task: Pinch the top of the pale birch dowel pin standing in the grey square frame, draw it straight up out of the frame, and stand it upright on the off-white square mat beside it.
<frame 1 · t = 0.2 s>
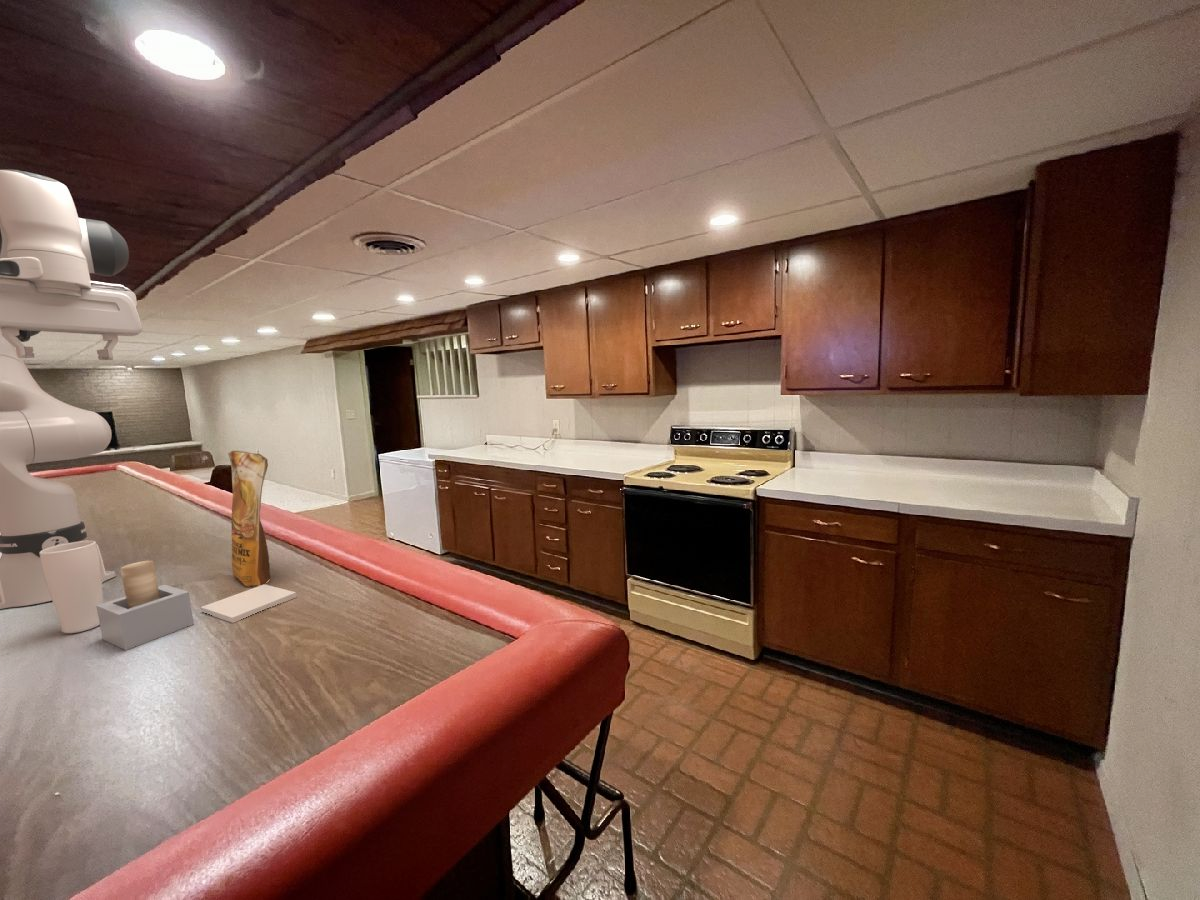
hand: (68, 359, 81), 47 cm above the table, tool pointing down, fingers open, 8 cm apart
birch pin: (143, 598, 80), in the grey square frame
grey square frame: (149, 631, 81), on the table
drinking glass: (84, 628, 84), on the table
pancake mix bag: (256, 577, 105), on the table
square mat: (250, 604, 90), on the table
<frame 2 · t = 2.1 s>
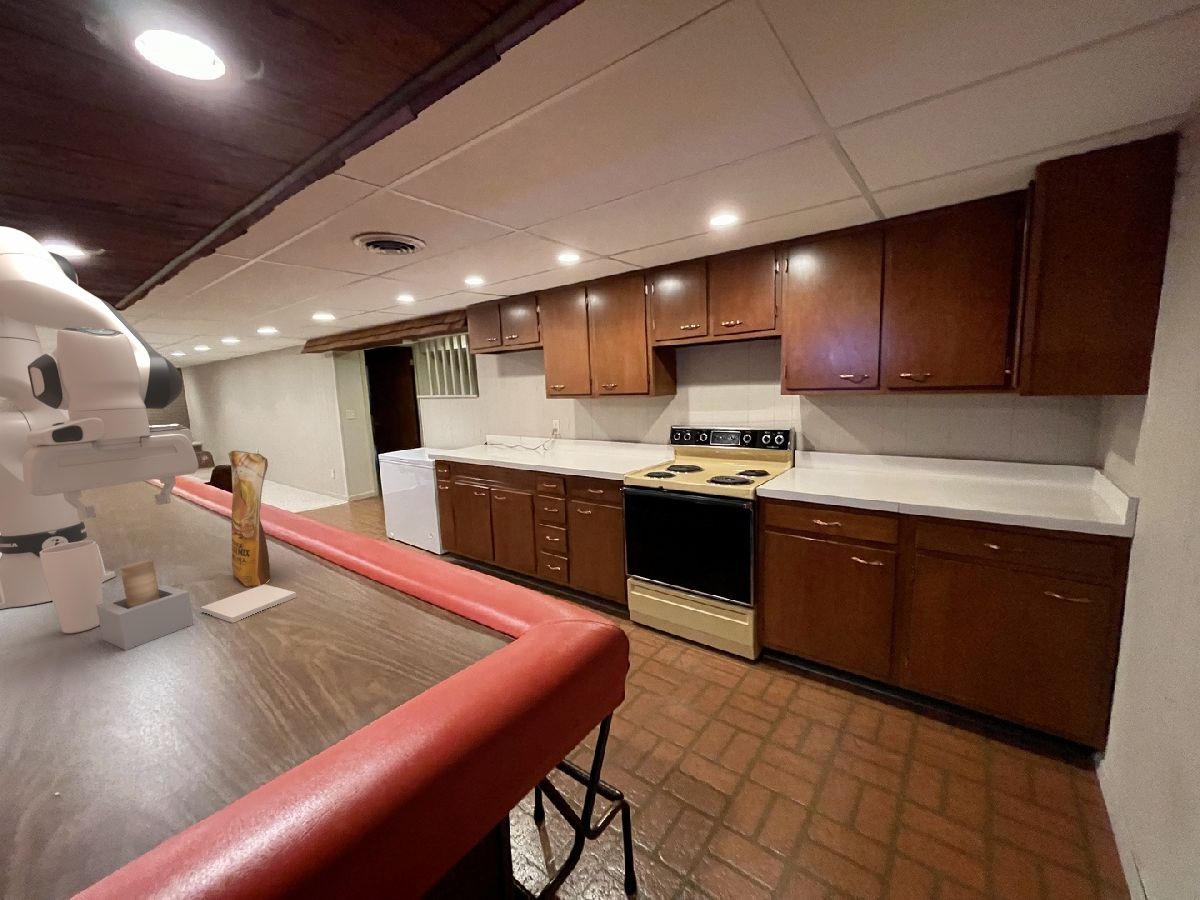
hand: (127, 510, 78), 21 cm above the table, tool pointing down, fingers open, 8 cm apart
nothing on the table moved.
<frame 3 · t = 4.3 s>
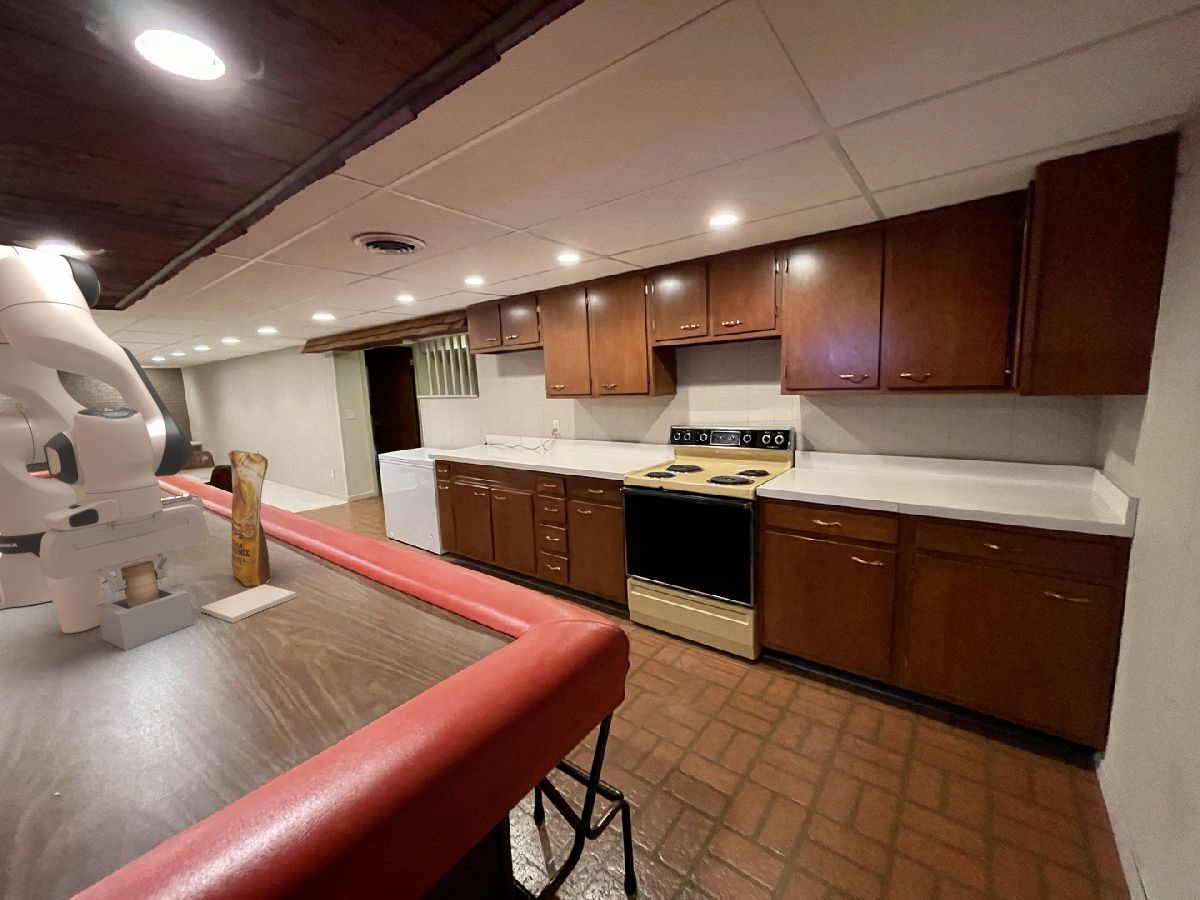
hand: (140, 584, 80), 9 cm above the table, tool pointing down, fingers closed on birch pin, 4 cm apart
birch pin: (143, 598, 80), in the grey square frame, touching gripper
everything else where it was.
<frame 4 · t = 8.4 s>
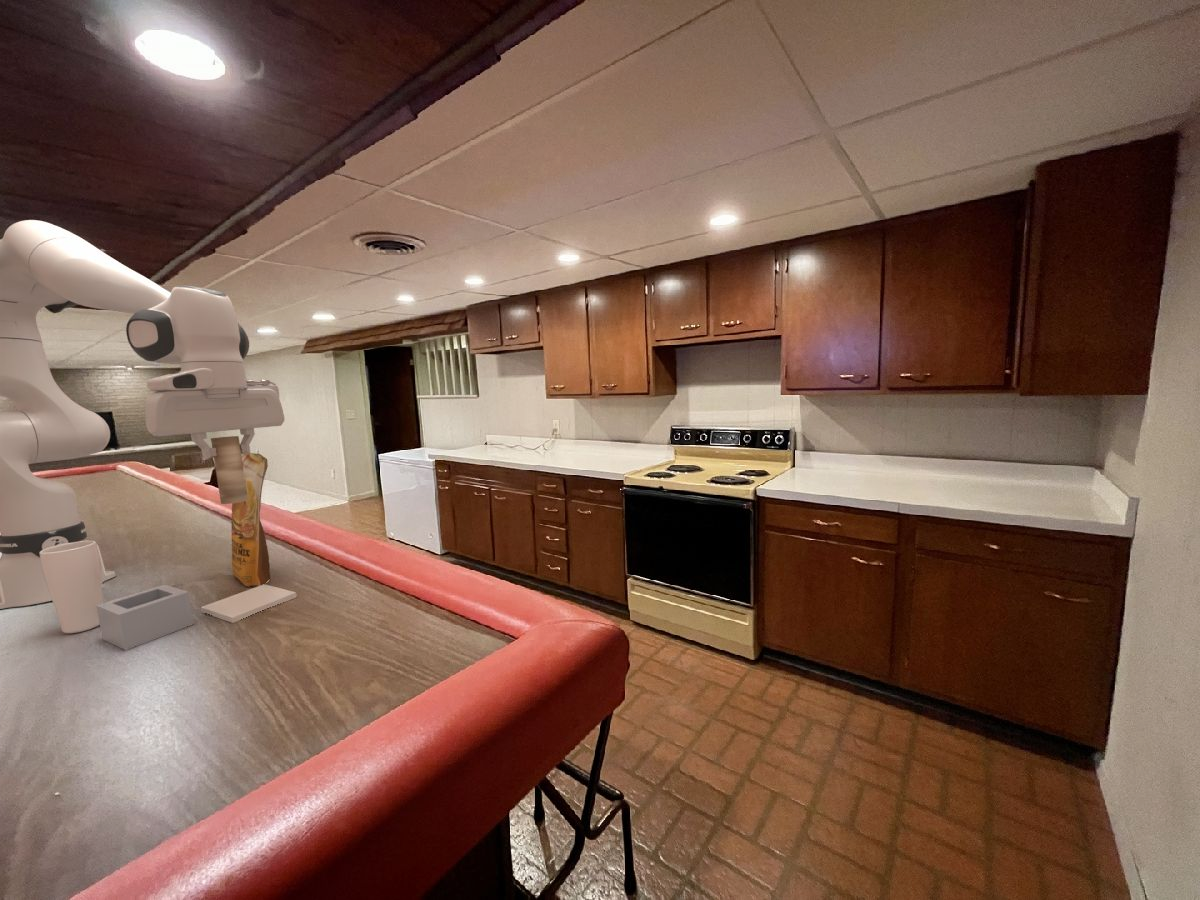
hand: (227, 455, 86), 29 cm above the table, tool pointing down, fingers closed on birch pin, 4 cm apart
birch pin: (229, 469, 87), point 26 cm above the table, touching gripper
everything else where it was.
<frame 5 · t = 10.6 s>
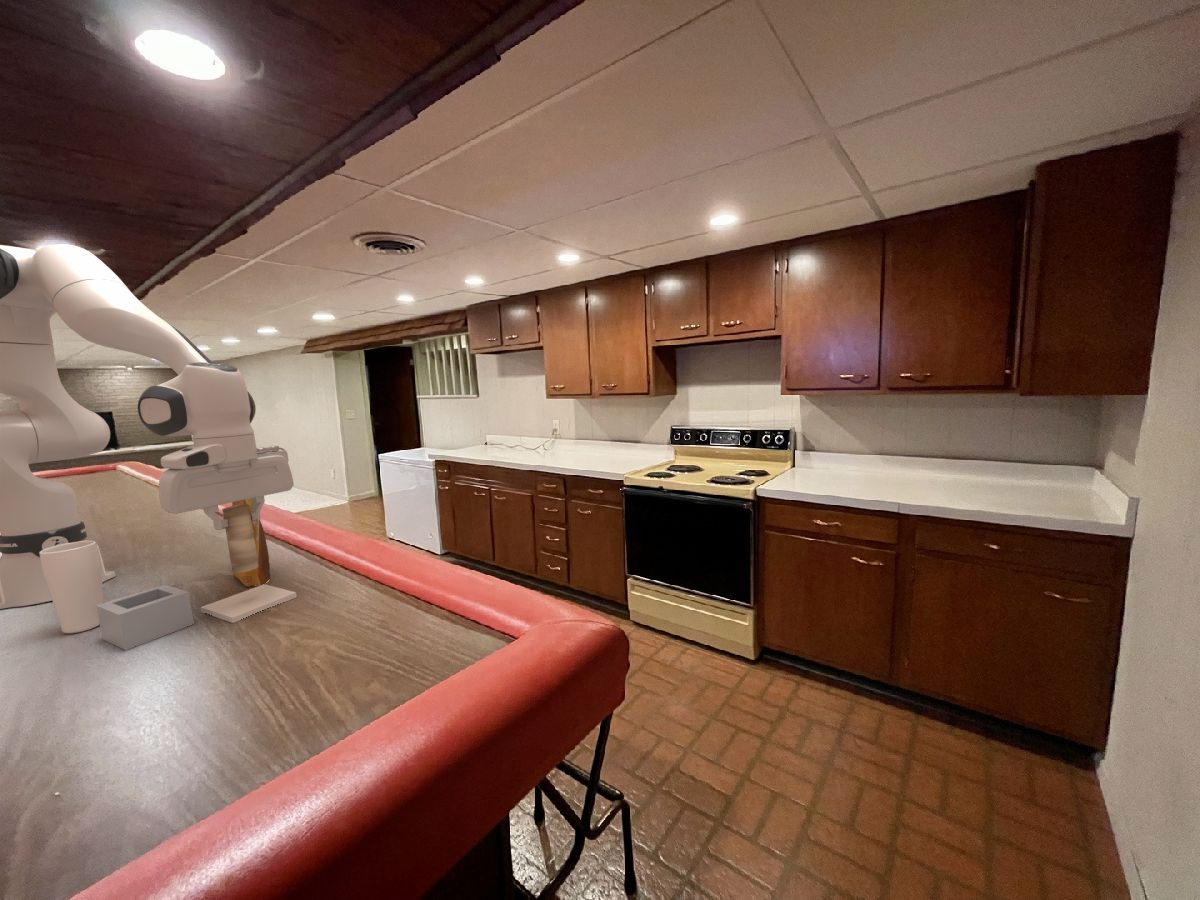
hand: (238, 524, 88), 16 cm above the table, tool pointing down, fingers closed on birch pin, 4 cm apart
birch pin: (240, 538, 88), point 13 cm above the table, touching gripper
everything else where it was.
when the fingers open (11 cm above the table, at t = 12.4 s): birch pin drops 1 cm, resting on square mat.
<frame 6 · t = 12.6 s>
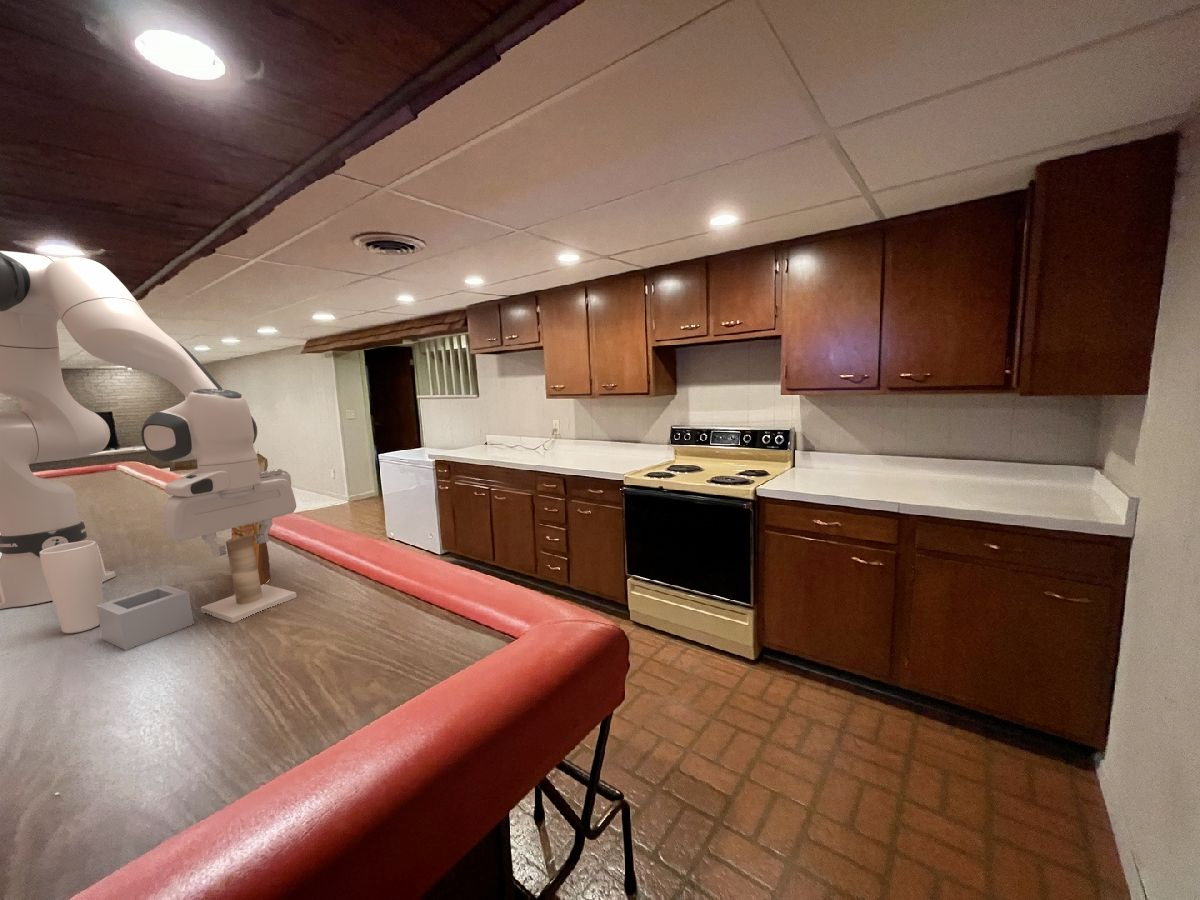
hand: (241, 548, 89), 11 cm above the table, tool pointing down, fingers open, 6 cm apart
birch pin: (244, 569, 89), on the square mat, point 7 cm above the table
everything else where it was.
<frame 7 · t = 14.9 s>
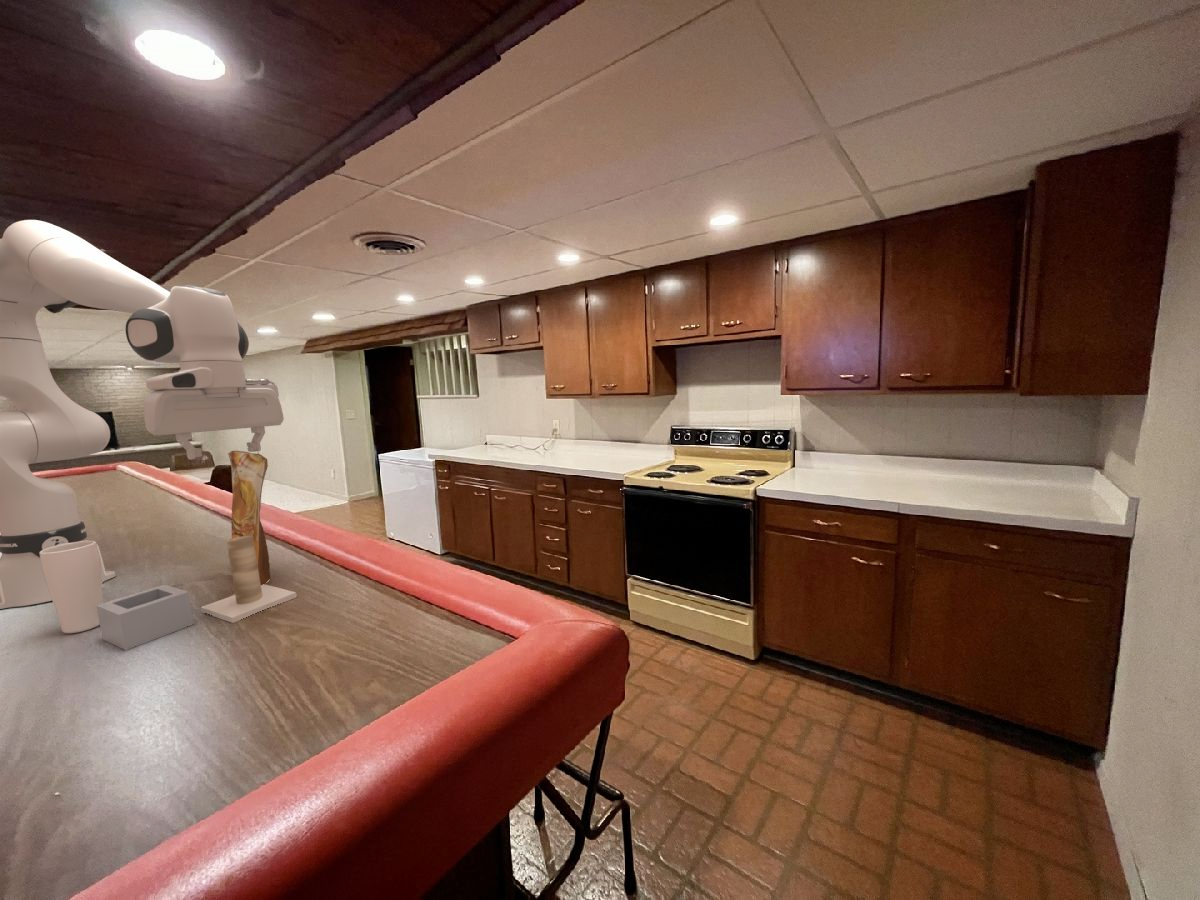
hand: (226, 454, 86), 29 cm above the table, tool pointing down, fingers open, 8 cm apart
nothing on the table moved.
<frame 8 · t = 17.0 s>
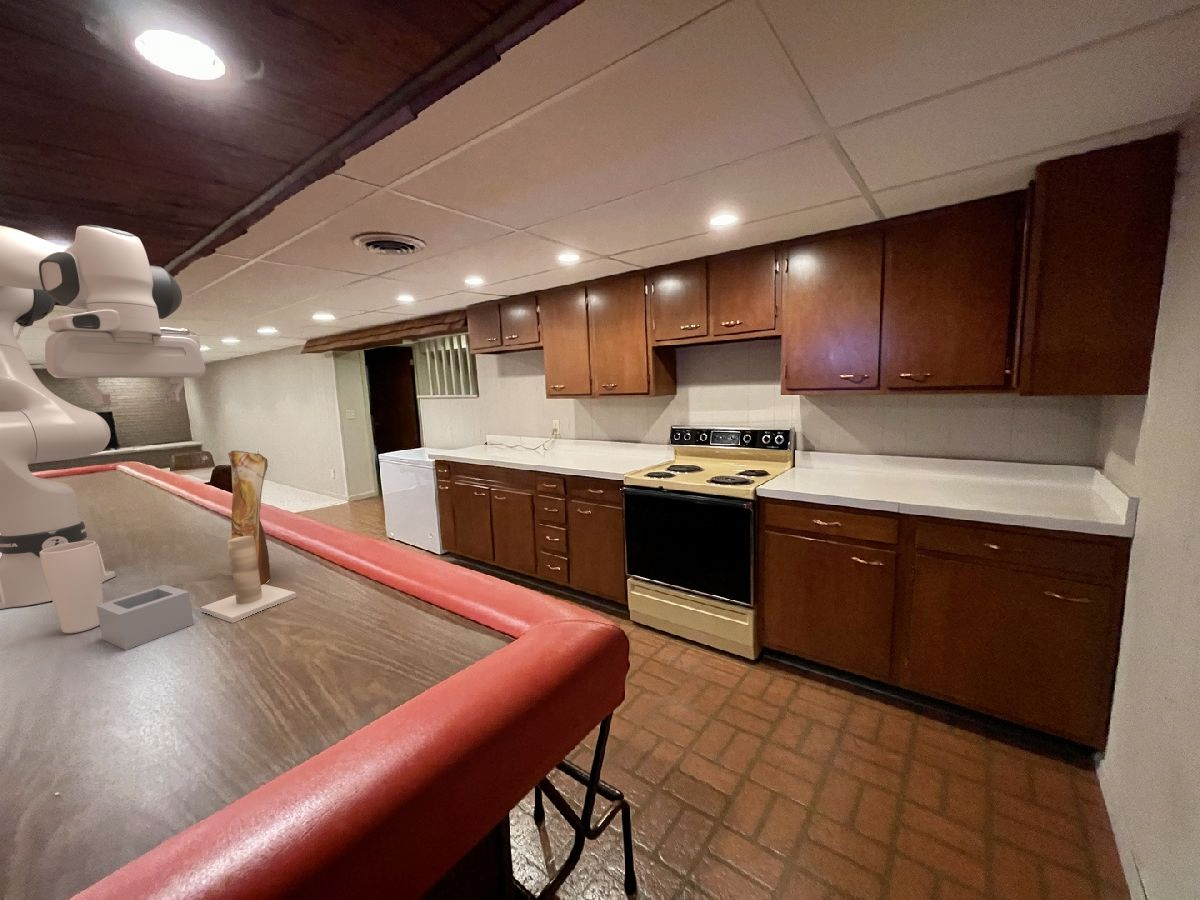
hand: (140, 403, 84), 39 cm above the table, tool pointing down, fingers open, 8 cm apart
nothing on the table moved.
at the end: birch pin inside the target area on the square mat (0.0 cm from its centre), point 7.0 cm above the square mat's base; birch pin tilted 0°; the gripper is holding nothing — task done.
